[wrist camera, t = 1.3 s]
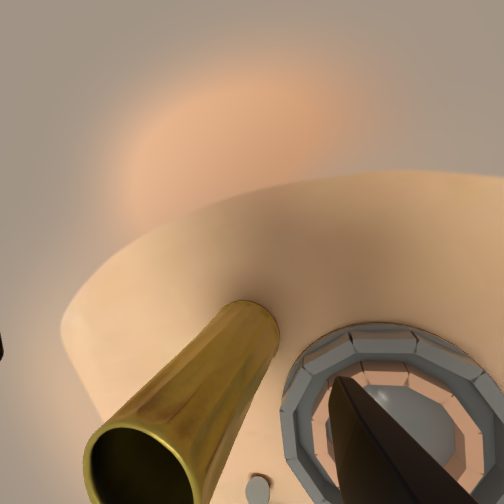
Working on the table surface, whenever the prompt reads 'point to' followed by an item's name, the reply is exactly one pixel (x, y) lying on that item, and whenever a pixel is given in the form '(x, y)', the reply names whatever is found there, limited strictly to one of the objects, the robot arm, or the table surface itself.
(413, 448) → the robot arm
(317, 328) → the table surface
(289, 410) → the grooved tray
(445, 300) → the table surface
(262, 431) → the table surface
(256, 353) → the vase
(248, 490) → the reed diffuser
